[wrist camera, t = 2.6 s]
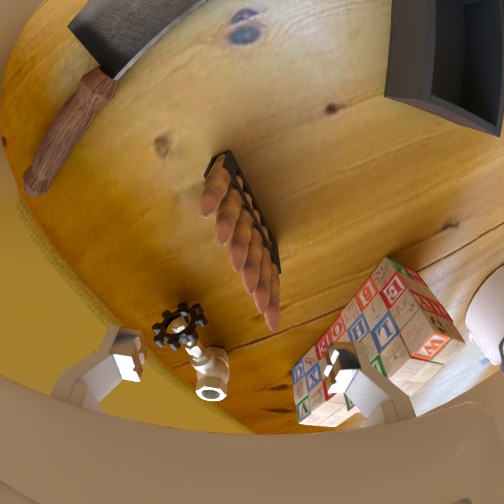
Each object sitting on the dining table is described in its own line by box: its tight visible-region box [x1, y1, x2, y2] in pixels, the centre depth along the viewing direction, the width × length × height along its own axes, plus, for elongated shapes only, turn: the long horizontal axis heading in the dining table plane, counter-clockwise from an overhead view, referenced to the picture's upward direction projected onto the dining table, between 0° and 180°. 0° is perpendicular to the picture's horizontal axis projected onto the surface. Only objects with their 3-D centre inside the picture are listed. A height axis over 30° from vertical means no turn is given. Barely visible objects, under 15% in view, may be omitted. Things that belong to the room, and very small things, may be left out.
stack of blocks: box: [292, 256, 465, 427], centre depth 29 cm, size 21×6×12 cm, turn 155°
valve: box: [152, 302, 229, 401], centre depth 32 cm, size 7×7×12 cm
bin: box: [384, 0, 504, 137], centre depth 14 cm, size 10×16×7 cm, turn 175°
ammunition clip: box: [199, 150, 281, 332], centre depth 21 cm, size 11×2×12 cm, turn 25°
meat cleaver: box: [23, 0, 207, 197], centre depth 16 cm, size 34×11×4 cm, turn 131°
